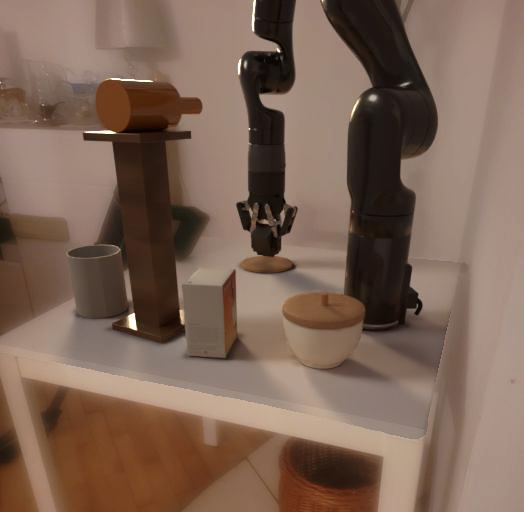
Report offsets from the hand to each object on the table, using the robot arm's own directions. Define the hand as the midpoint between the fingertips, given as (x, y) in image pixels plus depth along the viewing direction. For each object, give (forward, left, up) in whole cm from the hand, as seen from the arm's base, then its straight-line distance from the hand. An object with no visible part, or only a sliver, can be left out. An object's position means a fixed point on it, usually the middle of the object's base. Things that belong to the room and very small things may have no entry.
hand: (266, 252), depth 105 cm
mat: (0, 0, -3) cm, 3 cm away
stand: (+21, +30, -3) cm, 37 cm away
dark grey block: (0, 0, +2) cm, 2 cm away
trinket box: (-2, +45, -3) cm, 45 cm away
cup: (+31, +22, -3) cm, 38 cm away
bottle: (+18, +27, +25) cm, 41 cm away
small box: (+12, +39, -3) cm, 41 cm away
